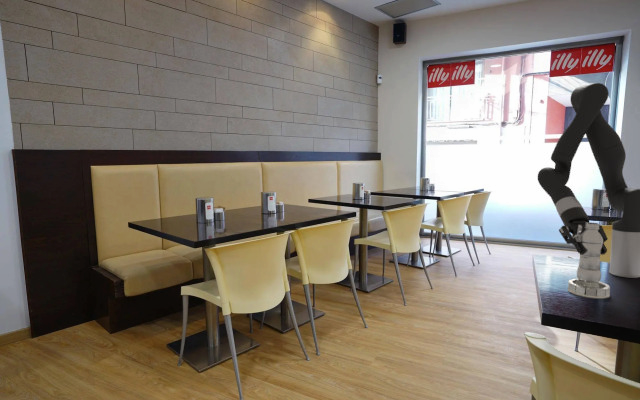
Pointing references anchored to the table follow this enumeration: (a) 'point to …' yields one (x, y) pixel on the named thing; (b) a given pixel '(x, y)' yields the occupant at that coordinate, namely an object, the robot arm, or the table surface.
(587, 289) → the ring holder
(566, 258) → the table surface
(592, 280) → the plastic bottle
